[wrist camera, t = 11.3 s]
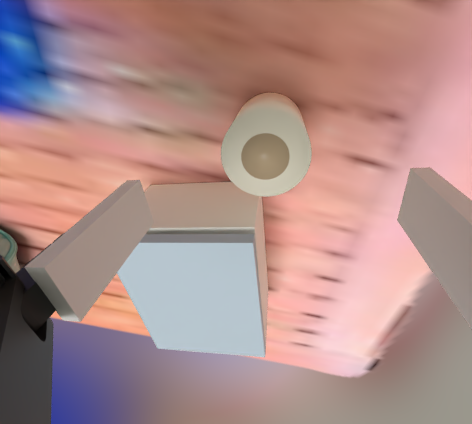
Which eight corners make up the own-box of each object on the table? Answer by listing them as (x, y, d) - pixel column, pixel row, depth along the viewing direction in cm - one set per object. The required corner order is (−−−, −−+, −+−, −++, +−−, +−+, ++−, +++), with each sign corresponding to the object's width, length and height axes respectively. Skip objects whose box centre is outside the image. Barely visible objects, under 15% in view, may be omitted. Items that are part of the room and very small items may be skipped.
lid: (107, 234, 21) (100, 242, 20) (254, 233, 19) (253, 243, 18) (161, 339, 29) (157, 348, 29) (265, 347, 27) (265, 357, 27)
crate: (150, 184, 28) (110, 228, 21) (260, 180, 26) (254, 227, 19) (183, 286, 36) (161, 339, 30) (268, 289, 34) (265, 347, 28)
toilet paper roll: (231, 96, 22) (214, 114, 16) (304, 88, 21) (314, 105, 15) (239, 162, 25) (226, 198, 19) (302, 158, 24) (309, 195, 18)
